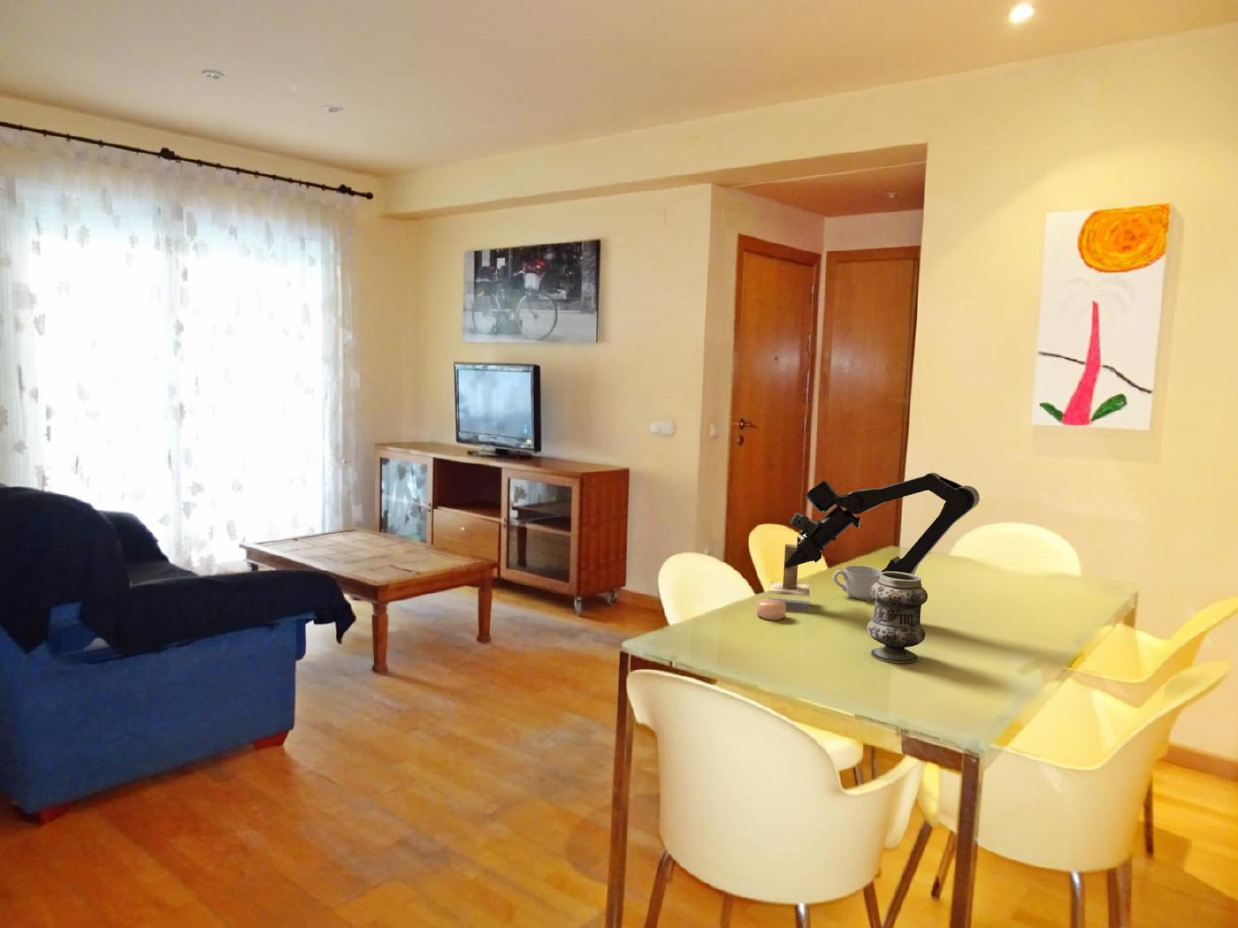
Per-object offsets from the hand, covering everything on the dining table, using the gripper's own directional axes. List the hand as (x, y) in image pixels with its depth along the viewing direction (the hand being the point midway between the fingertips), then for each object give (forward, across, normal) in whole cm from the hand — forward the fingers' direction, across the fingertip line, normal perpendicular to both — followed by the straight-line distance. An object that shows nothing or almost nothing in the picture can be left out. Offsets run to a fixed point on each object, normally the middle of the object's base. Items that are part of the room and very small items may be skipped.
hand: (785, 565), depth 227 cm
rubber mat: (+7, 0, +9) cm, 11 cm away
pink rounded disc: (+10, +14, +6) cm, 18 cm away
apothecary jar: (-9, +35, +25) cm, 44 cm away
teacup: (-6, -16, +22) cm, 28 cm away
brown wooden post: (+4, 0, +6) cm, 7 cm away
